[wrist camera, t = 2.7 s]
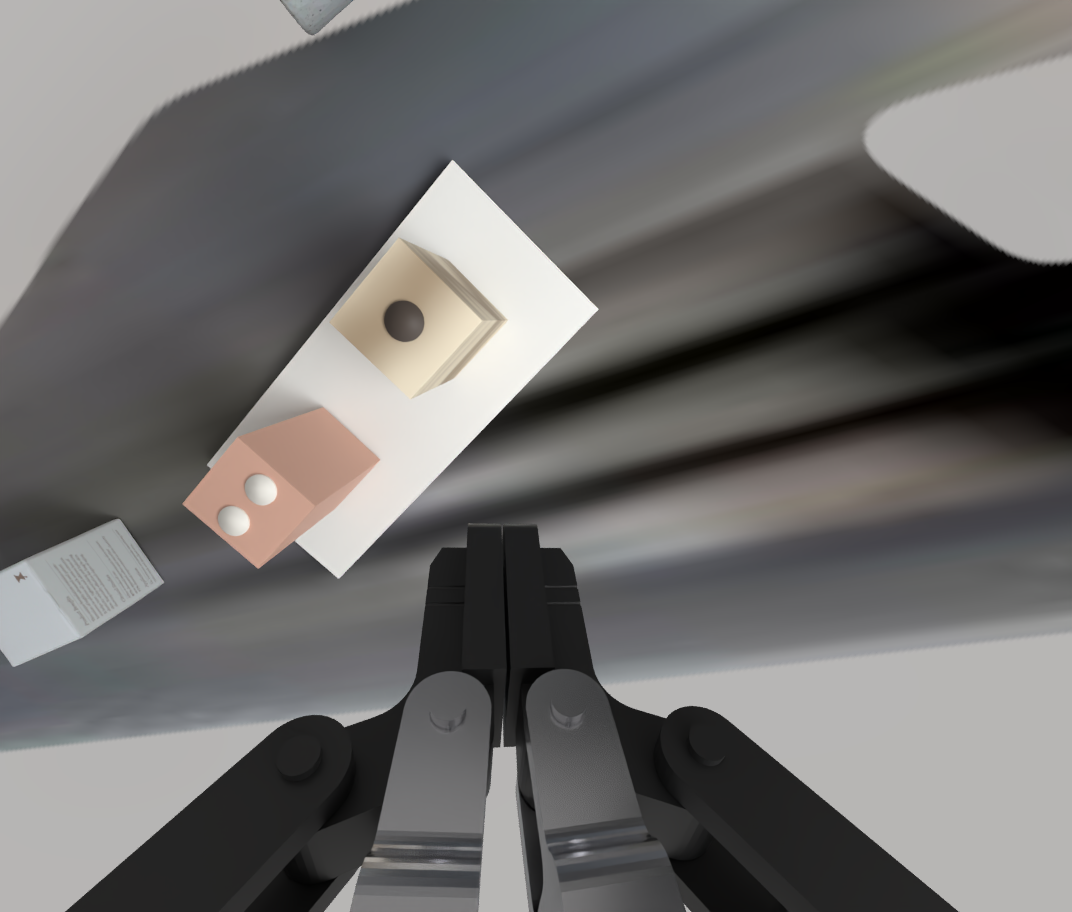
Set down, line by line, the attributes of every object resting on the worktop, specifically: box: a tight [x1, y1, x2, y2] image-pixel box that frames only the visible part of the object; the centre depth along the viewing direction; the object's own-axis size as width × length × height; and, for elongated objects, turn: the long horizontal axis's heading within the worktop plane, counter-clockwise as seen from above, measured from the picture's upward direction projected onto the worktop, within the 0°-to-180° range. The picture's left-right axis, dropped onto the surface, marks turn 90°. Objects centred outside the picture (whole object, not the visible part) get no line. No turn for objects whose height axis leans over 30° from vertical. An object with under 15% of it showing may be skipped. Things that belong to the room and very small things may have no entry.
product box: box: [0, 519, 164, 667], centre depth 37 cm, size 6×6×7 cm
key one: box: [329, 238, 508, 399], centre depth 28 cm, size 5×5×9 cm
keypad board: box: [207, 160, 598, 579], centre depth 35 cm, size 26×12×1 cm, turn 136°
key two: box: [183, 407, 380, 569], centre depth 31 cm, size 5×5×9 cm
